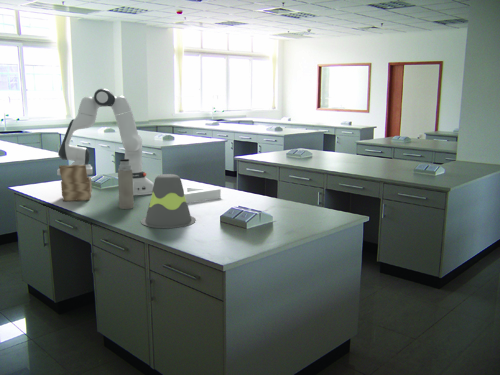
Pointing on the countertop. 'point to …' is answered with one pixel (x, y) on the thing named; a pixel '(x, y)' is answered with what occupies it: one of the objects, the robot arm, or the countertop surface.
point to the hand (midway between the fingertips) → (73, 173)
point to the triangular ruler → (200, 194)
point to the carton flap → (73, 173)
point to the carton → (76, 190)
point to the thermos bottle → (125, 185)
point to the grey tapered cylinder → (168, 204)
